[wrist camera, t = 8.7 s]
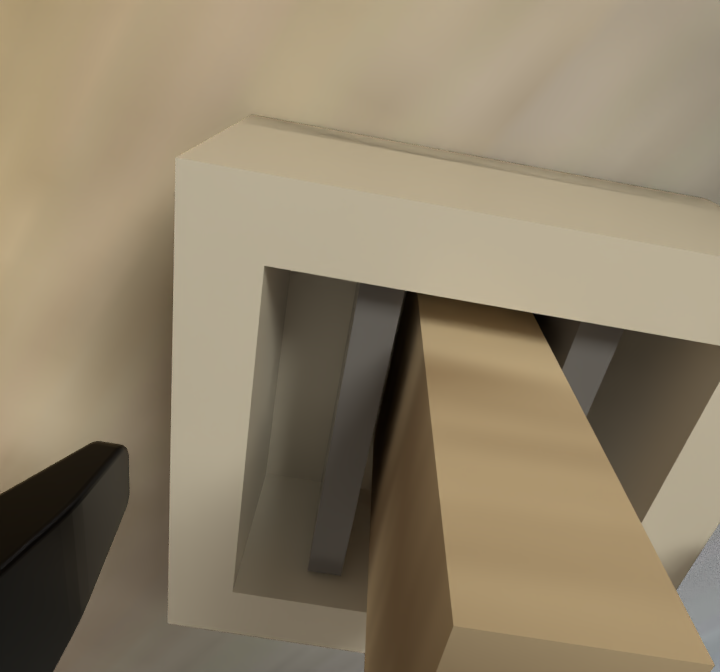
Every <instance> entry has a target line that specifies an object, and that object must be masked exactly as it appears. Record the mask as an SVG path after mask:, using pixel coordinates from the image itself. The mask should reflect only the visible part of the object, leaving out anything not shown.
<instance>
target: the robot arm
mask: <svg viewBox="0 0 720 672" xmlns="http://www.w3.org/2000/svg"><path fill="white" fill-rule="evenodd" d="M128 499H129V455H128V451H127V448H126V447H125V446H123V445H120V444H114V443H108V442H102V441H96V442H92V443H90V444H88V445H86V446H85V447H83V448H81V449H79V450H78V451H76V452H74V453H72V454H71V455H69V456H67V457H65V458H63V459H62V460H60V461H58V462H56V463H55V464H53V465H51V466H49V467H48V468H46V469H44V470H42V471H41V472H39V473H37V474H35V475H33V476H32V477H30V478H28V479H26V480H25V481H23V482H21V483H19V484H18V485H16V486H14V487H12V488H11V489H9V490H7V491H5V492H3V493H2V494H0V672H53V671H54V669H55V667H56V665H57V664H58V662H59V660H60V658H61V656H62V654H63V652H64V650H65V649H66V647H67V645H68V643H69V641H70V639H71V637H72V635H73V633H74V631H75V629H76V627H77V625H78V623H79V621H80V619H81V617H82V615H83V613H84V610H85V608H86V606H87V603H88V601H89V599H90V596H91V594H92V591H93V589H94V586H95V584H96V581H97V579H98V576H99V574H100V571H101V569H102V567H103V564H104V562H105V559H106V557H107V554H108V552H109V549H110V547H111V544H112V542H113V539H114V537H115V534H116V532H117V529H118V527H119V524H120V522H121V519H122V517H123V515H124V512H125V509H126V507H127V503H128Z"/></svg>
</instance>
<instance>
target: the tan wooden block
mask: <svg viewBox="0 0 720 672" xmlns="http://www.w3.org/2000/svg"><path fill="white" fill-rule="evenodd" d="M714 666H715V665H714V663H713V661H712V659H711V657H710V655H709V653H708V651H707V649H706V648H705V646H704V644H703V642H702V640H701V638H700V636H699V634H698V632H697V630H696V628H695V626H694V624H693V622H692V621H691V619H690V617H689V615H688V613H687V611H686V609H685V607H684V605H683V603H682V601H681V599H680V597H679V595H678V593H677V592H676V590H675V588H674V586H673V584H672V582H671V580H670V578H669V576H668V574H667V572H666V570H665V568H664V566H663V565H662V563H661V561H660V559H659V557H658V555H657V553H656V551H655V549H654V547H653V545H652V543H651V541H650V539H649V537H648V536H647V534H646V532H645V530H644V528H643V526H642V524H641V522H640V520H639V518H638V516H637V514H636V512H635V510H634V508H633V507H632V505H631V503H630V501H629V499H628V497H627V495H626V493H625V491H624V489H623V487H622V485H621V483H620V481H619V480H618V478H617V476H616V474H615V472H614V470H613V468H612V466H611V464H610V462H609V460H608V458H607V456H606V454H605V452H604V451H603V449H602V447H601V445H600V443H599V441H598V439H597V437H596V435H595V433H594V431H593V429H592V427H591V425H590V424H589V422H588V420H587V418H586V416H585V414H584V412H583V410H582V408H581V406H580V404H579V402H578V400H577V398H576V396H575V395H574V393H573V391H572V389H571V387H570V385H569V383H568V381H567V379H566V377H565V375H564V373H563V371H562V369H561V368H560V366H559V364H558V362H557V360H556V358H555V356H554V354H553V352H552V350H551V348H550V346H549V344H548V342H547V340H546V339H545V337H544V335H543V333H542V331H541V329H540V327H539V325H538V323H537V321H536V319H535V317H534V315H533V313H531V312H525V311H519V310H514V309H508V308H502V307H497V306H491V305H485V304H480V303H474V302H468V301H463V300H457V299H451V298H445V297H440V296H434V295H428V294H423V293H417V292H411V291H407V293H406V297H405V302H404V306H403V311H402V315H401V319H400V324H399V328H398V333H397V337H396V342H395V346H394V351H393V355H392V360H391V364H390V369H389V373H388V378H387V382H386V386H385V391H384V395H383V400H382V404H381V409H380V413H379V418H378V422H377V427H376V431H375V436H374V440H373V465H372V490H371V516H370V541H369V566H368V592H367V617H366V643H365V668H364V672H710V671H711V670H712V669H713V667H714Z"/></svg>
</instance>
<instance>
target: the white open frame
mask: <svg viewBox="0 0 720 672" xmlns="http://www.w3.org/2000/svg"><path fill="white" fill-rule="evenodd" d="M407 291H411V292H417V293H423V294H428V295H434V296H440V297H445V298H451V299H457V300H463V301H468V302H474V303H480V304H485V305H491V306H497V307H502V308H508V309H514V310H519V311H525V312H531V313H533V315H534V317H535V319H536V321H537V323H538V325H539V327H540V329H541V331H542V333H543V335H544V337H545V339H546V340H547V342H548V344H549V346H550V348H551V350H552V352H553V354H554V356H555V358H556V360H557V362H558V364H559V366H560V368H561V369H562V371H563V373H564V375H565V377H566V379H567V381H568V383H569V385H570V387H571V389H572V391H573V393H574V395H575V396H576V398H577V400H578V402H579V404H580V406H581V408H582V410H583V412H584V414H585V416H586V418H587V420H588V422H589V424H590V425H591V427H592V429H593V431H594V433H595V435H596V437H597V439H598V441H599V443H600V445H601V447H602V449H603V451H604V452H605V454H606V456H607V458H608V460H609V462H610V464H611V466H612V468H613V470H614V472H615V474H616V476H617V478H618V480H619V481H620V483H621V485H622V487H623V489H624V491H625V493H626V495H627V497H628V499H629V501H630V503H631V505H632V507H633V508H634V510H635V512H636V514H637V516H638V518H639V520H640V522H641V524H642V526H643V528H644V530H645V532H646V534H647V536H648V537H649V539H650V541H651V543H652V545H653V547H654V549H655V551H656V553H657V555H658V557H659V559H660V561H661V563H662V565H663V566H664V568H665V570H666V572H667V574H668V576H669V578H670V580H671V582H672V584H673V586H674V588H675V590H677V588H678V587H679V585H680V584H681V582H682V580H683V579H684V577H685V576H686V574H687V573H688V571H689V570H690V568H691V566H692V565H693V563H694V562H695V560H696V559H697V557H698V555H699V554H700V552H701V551H702V549H703V548H704V546H705V545H706V543H707V541H708V540H709V538H710V537H711V535H712V534H713V532H714V530H715V529H716V527H717V526H718V524H719V523H720V206H719V205H717V204H715V203H713V202H711V201H709V200H707V199H704V198H699V197H693V196H688V195H683V194H677V193H672V192H667V191H661V190H656V189H650V188H645V187H640V186H634V185H629V184H623V183H618V182H613V181H607V180H602V179H596V178H591V177H586V176H580V175H575V174H570V173H564V172H559V171H553V170H548V169H543V168H537V167H532V166H526V165H521V164H516V163H510V162H505V161H500V160H494V159H489V158H483V157H478V156H473V155H467V154H462V153H456V152H451V151H446V150H440V149H435V148H429V147H424V146H419V145H413V144H408V143H403V142H397V141H392V140H386V139H381V138H376V137H370V136H365V135H359V134H354V133H349V132H343V131H338V130H333V129H327V128H322V127H316V126H311V125H306V124H300V123H295V122H289V121H284V120H279V119H273V118H268V117H262V116H257V115H250V116H248V117H247V118H245V119H243V120H241V121H239V122H238V123H236V124H234V125H232V126H231V127H229V128H227V129H225V130H223V131H222V132H220V133H218V134H216V135H215V136H213V137H211V138H209V139H207V140H206V141H204V142H202V143H200V144H199V145H197V146H195V147H193V148H192V149H190V150H188V151H186V152H184V153H183V154H181V155H179V156H177V157H176V164H175V221H174V279H173V336H172V393H171V450H170V507H169V565H168V622H167V624H174V625H180V626H187V627H194V628H200V629H207V630H213V631H220V632H227V633H233V634H240V635H247V636H253V637H260V638H267V639H273V640H280V641H286V642H293V643H300V644H306V645H313V646H320V647H326V648H333V649H340V650H346V651H353V652H360V653H365V643H366V617H367V592H368V566H369V541H370V516H371V490H372V465H373V440H374V436H375V431H376V427H377V422H378V418H379V413H380V409H381V404H382V400H383V395H384V391H385V386H386V382H387V378H388V373H389V369H390V364H391V360H392V355H393V351H394V346H395V342H396V337H397V333H398V328H399V324H400V319H401V315H402V311H403V306H404V302H405V297H406V293H407Z"/></svg>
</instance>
